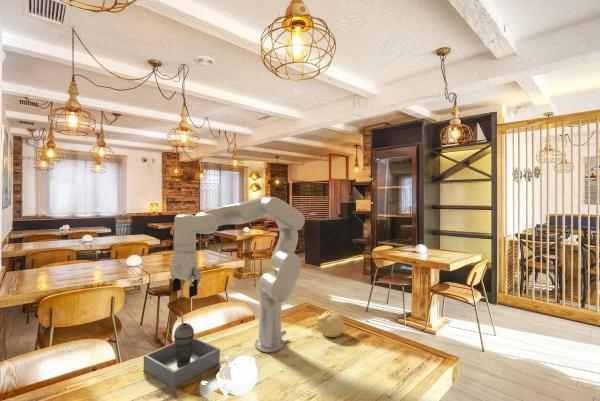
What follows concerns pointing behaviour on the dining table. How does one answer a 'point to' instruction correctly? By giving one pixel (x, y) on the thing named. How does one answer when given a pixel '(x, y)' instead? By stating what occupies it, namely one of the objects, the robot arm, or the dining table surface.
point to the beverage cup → (183, 343)
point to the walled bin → (167, 372)
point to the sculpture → (330, 324)
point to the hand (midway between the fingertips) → (184, 293)
